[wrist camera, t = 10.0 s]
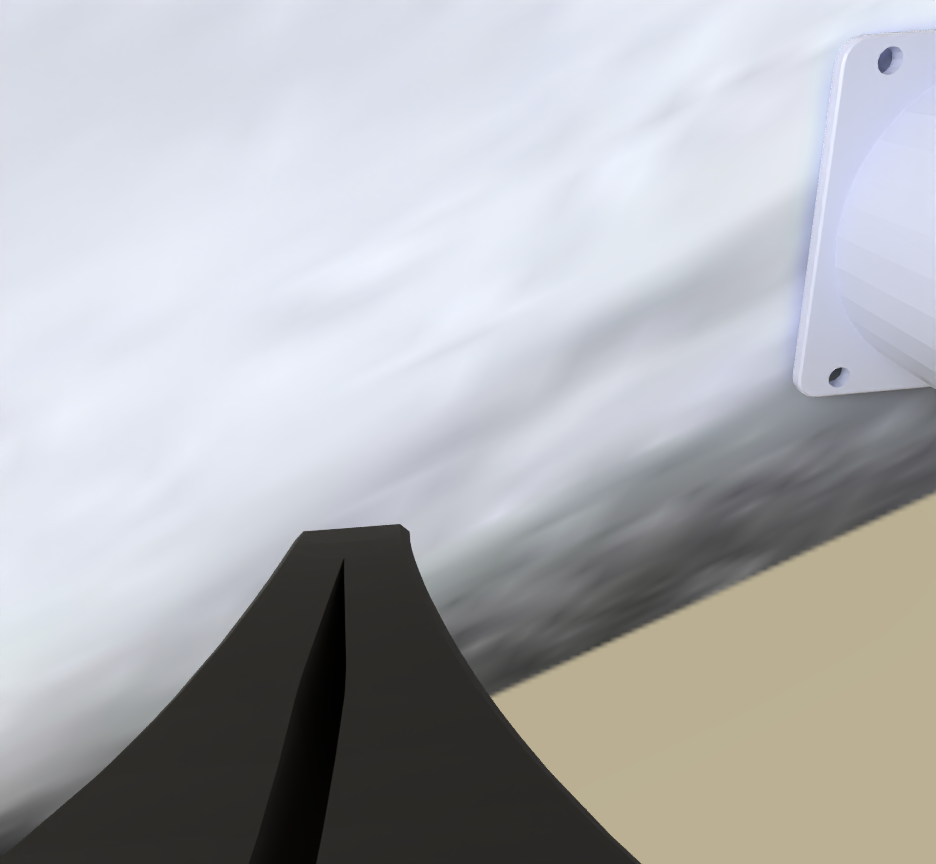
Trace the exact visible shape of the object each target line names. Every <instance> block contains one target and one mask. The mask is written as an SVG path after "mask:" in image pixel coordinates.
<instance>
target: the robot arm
mask: <svg viewBox="0 0 936 864" xmlns="http://www.w3.org/2000/svg"><path fill="white" fill-rule="evenodd" d="M886 48H889V49H890V50H891V51H892V62H891V64H890V67H889V68H888V69H887V70H886V71H885V72H883V73H881V72H880V70H879V69H878V59H879V57H880V54H881V53H882V52H883V51H884V50H885V49H886ZM840 367H842V371H841V374H840V376H839V377H837V378H836V379H835V380H832V381H829V379H828V378H829V376H830V374H831V372H833V371H834V370H835V369H837V368H840ZM793 383H794V384H795V386H796V388H797V389H798V390H799V391H801V392H802V393H803V394H805V395H807V396H809V397H822V396H833V395H844V394H855V393H866V392H878V391H889V390H900V389H911V388H922V387H933V388H934V389H936V30H924V31H910V32H896V33H882V34H868V35H860V36H856V37H853V38H851V39H850V40H849V41H847V42H846V43H845V44H843V46H842V47H841V49H840V50H839V52H838V53H837V56H836V59H835V62H834V68H833V76H832V83H831V91H830V98H829V106H828V114H827V121H826V129H825V136H824V144H823V151H822V159H821V166H820V174H819V181H818V189H817V196H816V204H815V212H814V219H813V227H812V234H811V242H810V249H809V257H808V264H807V272H806V279H805V287H804V294H803V302H802V309H801V317H800V325H799V332H798V340H797V347H796V355H795V362H794V370H793ZM0 864H641V863H640V862H639V861H638V860H637V859H636V858H635V857H633V856H632V855H631V854H630V853H629V852H628V851H627V850H626V849H625V848H624V847H623V846H622V845H620V843H618V842H617V841H616V840H615V839H614V838H613V837H612V836H611V835H610V834H609V833H608V832H607V831H606V830H605V829H604V828H603V827H602V826H601V825H600V824H599V822H597V821H596V819H595V818H594V817H593V816H592V815H591V814H590V813H589V812H588V811H587V810H586V809H585V808H584V807H583V806H582V805H581V804H580V803H579V802H578V801H577V800H576V798H575V797H574V796H573V795H572V794H571V793H570V792H569V791H568V790H567V789H566V788H565V787H564V786H563V785H562V784H561V783H560V782H559V781H558V780H557V779H556V778H555V777H554V775H552V773H551V772H550V771H549V770H548V769H547V768H546V767H545V765H544V764H543V763H542V762H541V761H540V759H539V758H538V757H537V756H536V755H535V753H534V752H533V751H532V750H531V749H530V748H529V746H528V745H527V744H526V743H525V742H524V740H523V739H522V738H521V737H520V736H519V734H518V733H517V732H516V730H515V729H514V728H513V727H512V725H511V724H510V723H509V721H508V720H507V719H506V718H505V716H504V715H503V714H502V712H501V711H500V710H499V708H498V707H497V706H496V704H495V703H494V702H493V700H492V699H491V697H490V696H489V695H488V693H487V692H486V690H485V689H484V687H483V686H482V685H481V683H480V682H479V680H478V679H477V677H476V676H475V674H474V673H473V671H472V669H471V668H470V666H469V665H468V663H467V662H466V660H465V658H464V657H463V655H462V654H461V652H460V651H459V649H458V647H457V646H456V644H455V642H454V640H453V639H452V637H451V635H450V634H449V632H448V630H447V628H446V626H445V624H444V622H443V621H442V619H441V617H440V615H439V613H438V611H437V609H436V607H435V605H434V603H433V602H432V600H431V598H430V595H429V593H428V591H427V589H426V587H425V585H424V582H423V580H422V577H421V575H420V572H419V570H418V567H417V564H416V561H415V559H414V555H413V552H412V548H411V543H410V533H409V531H408V530H407V529H406V528H404V527H403V526H402V525H400V524H395V525H382V526H369V527H356V528H343V529H330V530H317V531H304V532H303V533H302V534H301V535H300V536H299V537H298V538H297V539H296V540H295V541H294V543H293V544H292V546H291V547H290V549H289V550H288V552H287V553H286V555H285V556H284V558H283V559H282V561H281V562H280V564H279V565H278V567H277V568H276V570H275V571H274V573H273V574H272V575H271V577H270V578H269V580H268V581H267V583H266V584H265V585H264V587H263V588H262V590H261V591H260V592H259V594H258V595H257V597H256V598H255V599H254V601H253V602H252V603H251V605H250V606H249V607H248V609H247V610H246V611H245V612H244V614H243V615H242V616H241V618H240V619H239V620H238V622H237V623H236V624H235V626H234V627H233V628H232V629H231V631H230V632H229V633H228V635H227V636H226V637H225V639H224V640H223V641H222V642H221V644H220V645H219V646H218V647H217V649H216V650H215V651H214V652H213V653H212V654H211V656H210V657H209V658H208V659H207V660H206V661H205V663H204V664H203V665H202V666H201V667H200V668H199V670H198V671H197V672H196V673H195V674H194V675H193V677H192V678H191V679H190V680H189V681H188V682H187V684H186V685H185V686H184V687H183V688H182V689H181V691H180V692H179V693H178V694H177V695H176V696H175V697H174V698H173V700H172V701H171V702H170V703H169V704H168V705H167V706H166V707H165V708H164V709H163V710H162V711H161V712H160V714H159V715H158V716H157V717H156V718H155V719H154V720H153V721H152V722H151V723H150V724H149V725H148V726H147V727H146V728H145V729H144V730H143V731H142V732H141V733H140V734H139V735H138V736H137V737H136V738H135V739H134V740H133V741H132V742H131V743H130V744H129V745H128V746H127V747H126V748H125V749H124V750H123V751H122V752H121V753H120V754H119V755H118V756H117V757H116V758H115V759H114V760H113V761H112V762H111V763H110V764H109V765H108V766H107V767H106V768H105V769H104V770H103V771H102V772H100V773H99V774H98V775H97V776H96V777H95V778H94V779H93V780H92V781H90V782H89V783H88V784H87V785H86V786H85V787H83V788H82V789H81V790H80V791H79V792H78V793H76V794H75V795H74V796H73V797H72V798H71V799H69V800H68V801H67V802H66V803H65V804H64V805H62V806H61V807H60V808H59V809H58V810H57V811H55V812H54V813H53V814H52V815H51V816H50V817H48V818H47V819H46V820H45V821H44V822H43V823H41V824H40V825H39V826H38V827H37V828H36V829H34V830H33V831H32V832H31V833H30V834H29V835H27V836H26V837H25V838H24V839H23V840H22V841H20V842H19V843H18V844H17V845H16V846H14V847H13V848H12V849H11V850H9V851H8V852H7V853H6V854H4V855H3V856H2V857H1V858H0Z"/></svg>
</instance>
